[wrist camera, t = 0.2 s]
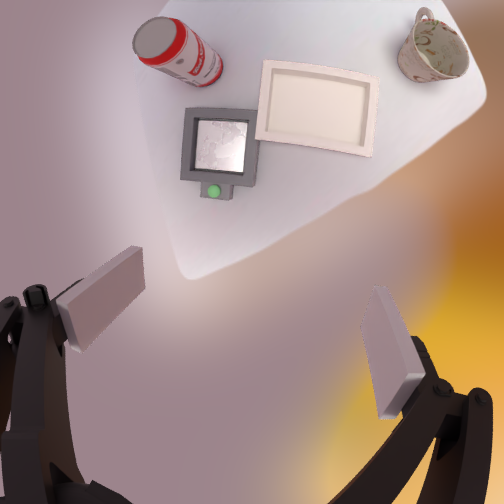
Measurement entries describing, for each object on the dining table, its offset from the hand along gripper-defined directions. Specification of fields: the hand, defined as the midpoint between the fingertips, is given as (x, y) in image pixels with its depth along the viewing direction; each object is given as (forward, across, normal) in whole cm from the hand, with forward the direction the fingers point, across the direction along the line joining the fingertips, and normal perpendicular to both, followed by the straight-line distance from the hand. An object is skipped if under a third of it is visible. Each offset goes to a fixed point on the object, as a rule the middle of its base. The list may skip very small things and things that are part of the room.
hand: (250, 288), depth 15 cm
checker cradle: (+27, -10, +5) cm, 30 cm away
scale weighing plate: (+28, -10, +7) cm, 31 cm away
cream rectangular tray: (+28, +3, +14) cm, 31 cm away
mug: (+28, +17, +26) cm, 42 cm away
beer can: (+28, -14, +19) cm, 36 cm away
